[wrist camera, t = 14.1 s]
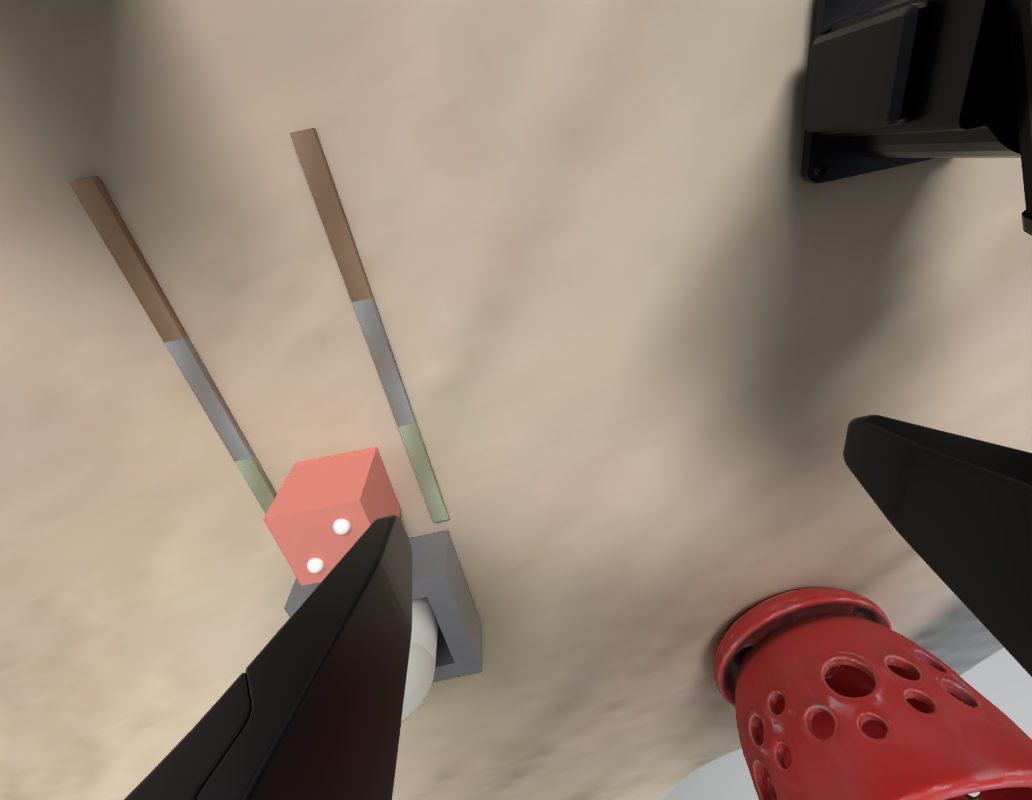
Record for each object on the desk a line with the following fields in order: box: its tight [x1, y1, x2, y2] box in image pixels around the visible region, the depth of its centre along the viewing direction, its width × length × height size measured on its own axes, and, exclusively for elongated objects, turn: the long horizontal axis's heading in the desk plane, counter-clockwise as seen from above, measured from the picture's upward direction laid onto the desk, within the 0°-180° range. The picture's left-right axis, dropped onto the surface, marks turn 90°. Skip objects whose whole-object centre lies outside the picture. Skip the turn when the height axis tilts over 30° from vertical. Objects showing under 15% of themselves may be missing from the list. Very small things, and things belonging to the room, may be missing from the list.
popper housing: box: [284, 531, 482, 682], centre depth 26 cm, size 8×8×3 cm
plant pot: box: [714, 588, 1032, 800], centre depth 26 cm, size 13×13×12 cm
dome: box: [401, 597, 438, 721], centre depth 24 cm, size 5×5×6 cm
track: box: [69, 128, 449, 523], centre depth 20 cm, size 9×18×1 cm, turn 11°
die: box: [263, 447, 401, 586], centre depth 21 cm, size 4×4×4 cm
